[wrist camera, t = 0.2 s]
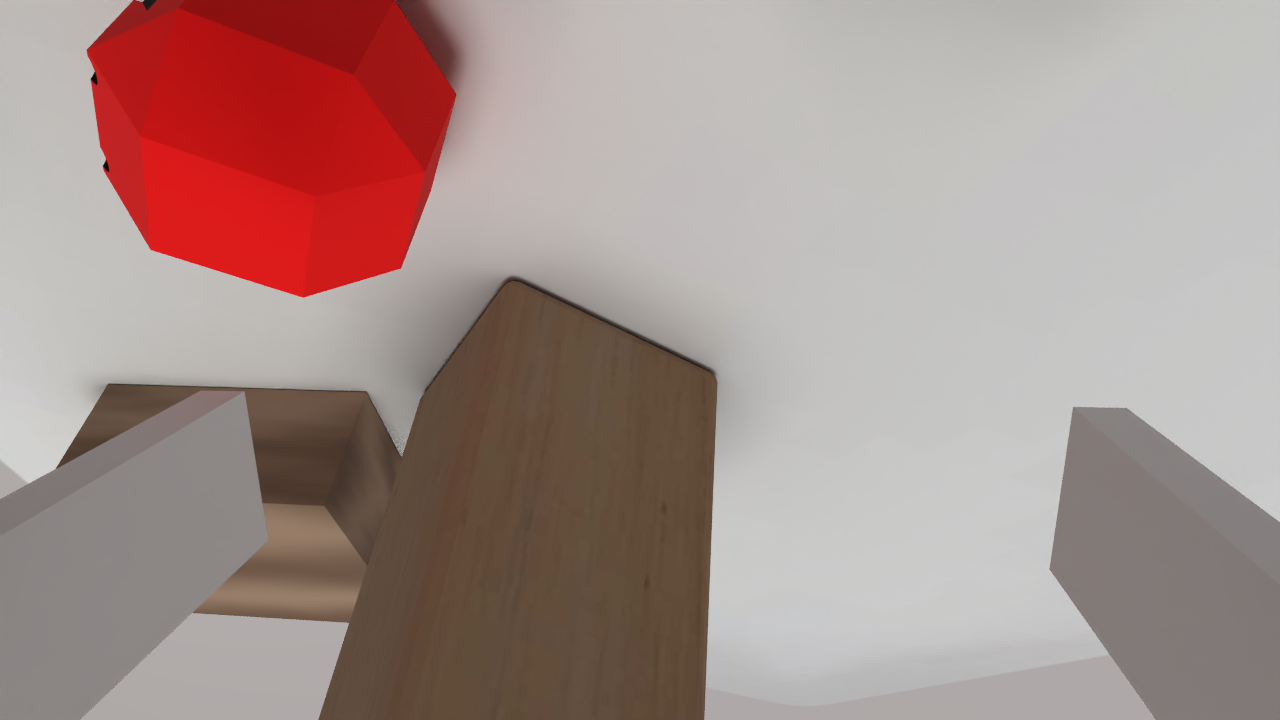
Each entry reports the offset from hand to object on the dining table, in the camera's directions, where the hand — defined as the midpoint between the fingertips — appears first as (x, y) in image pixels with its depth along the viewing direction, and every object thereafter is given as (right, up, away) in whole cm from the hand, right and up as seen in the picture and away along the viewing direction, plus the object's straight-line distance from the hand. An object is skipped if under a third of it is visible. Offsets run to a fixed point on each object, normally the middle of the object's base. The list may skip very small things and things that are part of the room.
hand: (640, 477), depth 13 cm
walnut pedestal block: (-19, -4, +31) cm, 37 cm away
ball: (-9, +11, +12) cm, 19 cm away
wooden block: (-3, +1, +24) cm, 24 cm away
